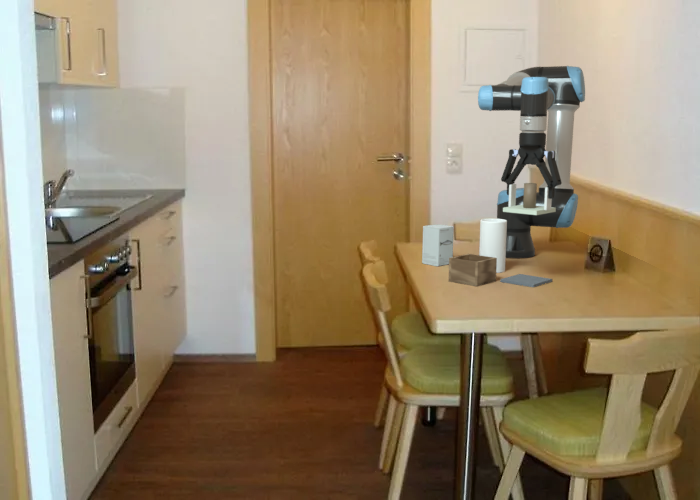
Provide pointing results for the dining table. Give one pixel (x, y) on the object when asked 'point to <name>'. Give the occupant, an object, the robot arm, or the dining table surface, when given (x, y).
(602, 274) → the dining table surface
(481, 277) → the box
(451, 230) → the supplement box
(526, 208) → the lid
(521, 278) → the plate
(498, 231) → the cup
